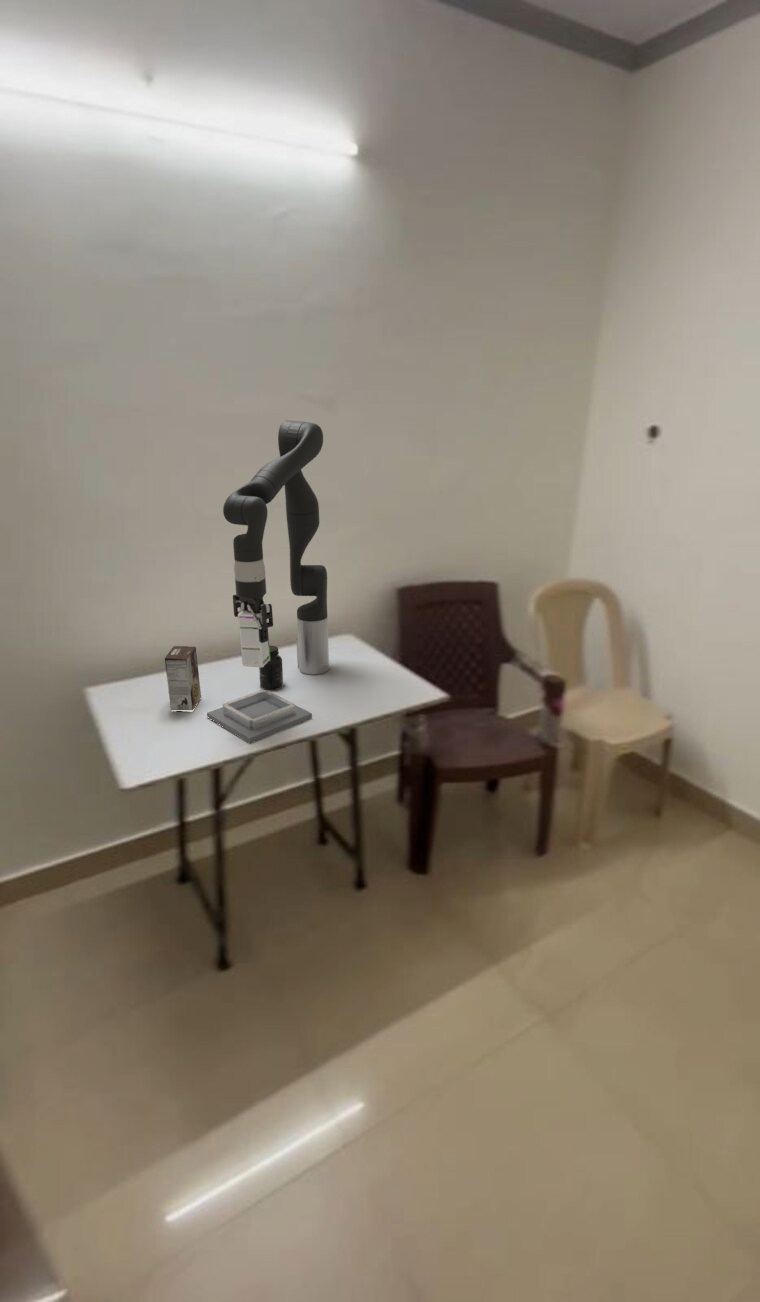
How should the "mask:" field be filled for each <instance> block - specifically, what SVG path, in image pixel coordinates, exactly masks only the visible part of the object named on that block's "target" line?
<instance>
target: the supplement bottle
mask: <svg viewBox="0 0 760 1302" xmlns="http://www.w3.org/2000/svg"><path fill="white" fill-rule="evenodd" d="M269 648H270V660H269V661H268V662H267V663H266V664H265V665H264V667H258V669H259V673H258V674H259V685H260V687H261V688H262V690H266V689H267V690H268V691H274V690H279V689H281V688H282V687H283V686H284V673H283V667H284V666H283V658H282V657H281V655H279V654H280V653H279V647H278V646H277V645H269ZM267 690H266V691H267Z"/></svg>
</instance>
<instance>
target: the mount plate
mask: <svg viewBox="0 0 760 1302" xmlns="http://www.w3.org/2000/svg"><path fill="white" fill-rule="evenodd" d="M294 705H295V714H294V715H292V716H289V717H287V718H284V719H281V720H279V721H276V722H274V723H271V724H269V725H266V726H264V727H261V728H259V729H256V730H253V729H248V728H247V727H245V726H243V725H242V724H240V723H238V722H236V721H235V720H233V719H231V718H230V717H228V716H226V715H224V712H223V706H222V707H220V708H216V709H214V710H213V709H212V710H211V711H208V712H207V713H206V716H207V717H209V718H210V719H212V720H214V721H215V722H217V723H218V724H217V723H216V724H217V725H219V724H220V725H221V727H222V726H223V727H224V729H225V728H226V729H225V730H227V731H228V730H229V731H228V732H230V731H231V732H230V733H232V734H233V733H234V735H235V734H236V735H235V736H237V735H238V736H240V737H241V738H240V737H239V738H240V739H242V738H243V739H244V740H243V739H242V740H243V741H245V742H247V743H248V742H249V744H252V742H253V743H254V741H255V742H258V741H260V740H262V738H263V739H264V738H268V737H269V736H273V735H275V734H277V733H279V732H282V731H285V730H286V729H289V728H292V727H294V726H297V725H300V724H301V723H304V722H307V721H309V720H311V719H313V714H312V712H310V711H309V710H306V709H304V708H302V707H300V706H298V705H296V704H294ZM278 709H281V708H280V707H278V706H276V705H274V704H272V703H270V702H268V701H266V700H262V701H259V702H257V703H254V704H251V705H248V706H246V707H243V708H240V709H237V710H238V711H240V712H241V713H243V714H245V715H247V716H248V717H250V718H252V719H255V718H257V717H260V716H262V715H265V714H268V713H270V712H273V711H276V710H278ZM209 718H208V719H209ZM210 719H209V720H210ZM212 720H211V721H212ZM214 721H213V722H214ZM215 722H214V723H215ZM220 725H219V726H220ZM223 727H222V728H223ZM238 736H237V737H238Z"/></svg>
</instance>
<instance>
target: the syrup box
mask: <svg viewBox="0 0 760 1302" xmlns="http://www.w3.org/2000/svg"><path fill="white" fill-rule="evenodd" d="M256 616H258V617H259V616H262V613H258V614H256ZM237 619H238V620H237V621H238V630H239V631H238V633H239V642H240V650H241V660H242V661H241V663H242V666H244V667H250V668H251V667H252V668H259V667H264V665H265V664H266V663H267V662H268V661H269V660H270V648H269V646H270V639H269V634H268V641H267V642H264V643H261V642H260V641H259V627H258V625H257V622H255V621H254V620H253V615H252V613H250V611H246V610H244V611H241V612H240V613H239V614H238V617H237ZM260 621H261V624H262V620H260Z"/></svg>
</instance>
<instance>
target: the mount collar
mask: <svg viewBox="0 0 760 1302" xmlns="http://www.w3.org/2000/svg"><path fill="white" fill-rule="evenodd" d="M262 700H266V701H268V702H270V703H272V704H274V705H276V706H278V707H280V708H281V709H278V710H276V711H273V712H270V713H268V714H265V715H262V716H260V717H257V718H255V719H252V718H250V717H248V716H247V715H245V714H243V713H241V712H240V711H238V710H237V709H240V708H243V707H246V706H248V705H251V704H254V703H257V702H259V701H262ZM295 705H296V704H295V703H294V702H293V701H290V700H289V699H286V698H284V697H282V696H280V695H278V694H276V693H274V692H272V691H271V690H266V689H261V690H258V691H256V692H255V691H254V692H253V693H250V694H246V695H244V696H240V697H239V698H236V699H235V698H234V699H233V700H230V701H227V702H224V703H222V707H223V712H224V715H226V716H228V717H230V718H231V719H233V720H235V721H236V722H238V723H240V724H242V725H243V726H245V727H247V728H248V729H253V730H256V729H259V728H261V727H264V726H266V725H269V724H271V723H274V722H276V721H279V720H281V719H284V718H287V717H289V716H292V715H294V714H295Z"/></svg>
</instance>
